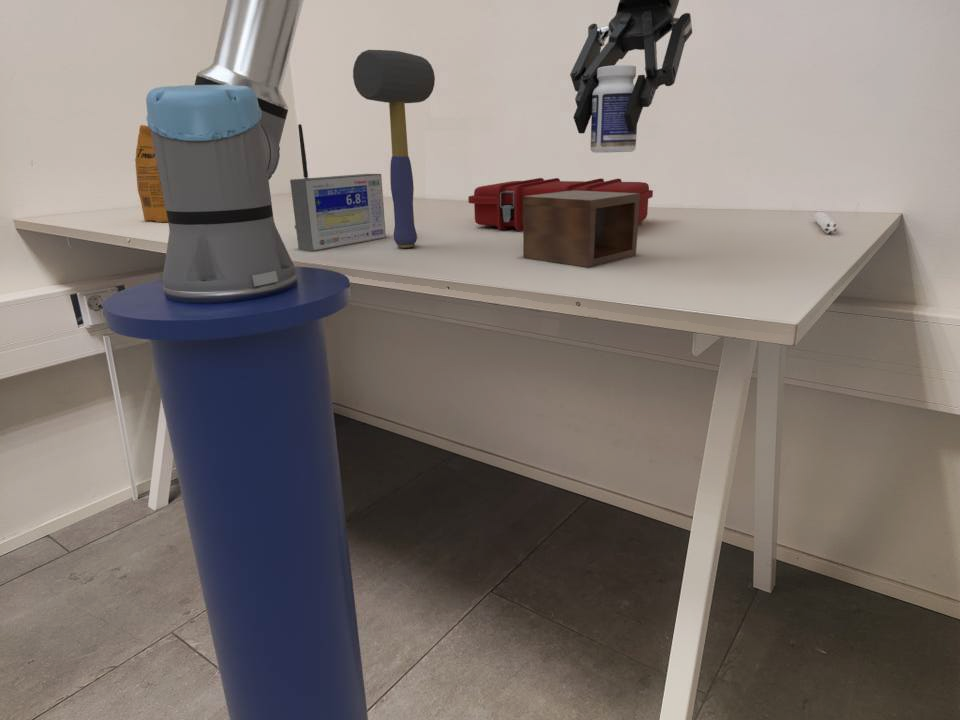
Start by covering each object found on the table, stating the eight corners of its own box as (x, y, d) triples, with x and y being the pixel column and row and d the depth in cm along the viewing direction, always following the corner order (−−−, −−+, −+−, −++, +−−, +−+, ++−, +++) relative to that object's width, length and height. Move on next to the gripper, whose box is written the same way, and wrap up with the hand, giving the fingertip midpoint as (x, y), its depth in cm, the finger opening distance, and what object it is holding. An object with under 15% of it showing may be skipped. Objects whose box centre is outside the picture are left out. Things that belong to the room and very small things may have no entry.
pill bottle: (644, 151, 79) (649, 66, 76) (618, 152, 76) (623, 63, 72) (607, 151, 83) (610, 70, 80) (581, 152, 80) (583, 67, 76)
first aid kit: (465, 229, 124) (463, 184, 121) (513, 216, 143) (513, 177, 140) (622, 237, 109) (625, 187, 107) (653, 221, 129) (656, 178, 126)
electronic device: (313, 251, 103) (298, 123, 96) (288, 248, 107) (272, 124, 100) (388, 237, 116) (379, 123, 109) (363, 235, 120) (353, 124, 113)
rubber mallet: (397, 255, 98) (383, 43, 88) (363, 251, 102) (346, 49, 92) (446, 243, 107) (437, 52, 97) (413, 240, 111) (401, 56, 101)
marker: (837, 236, 105) (840, 222, 104) (824, 235, 106) (826, 221, 105) (825, 222, 121) (827, 210, 120) (813, 222, 122) (815, 210, 121)
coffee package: (172, 216, 159) (155, 125, 152) (205, 218, 153) (189, 123, 146) (136, 221, 151) (117, 124, 143) (170, 223, 145) (151, 123, 138)
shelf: (523, 257, 93) (523, 196, 90) (572, 247, 101) (573, 190, 98) (588, 267, 85) (591, 200, 82) (636, 255, 93) (640, 193, 90)
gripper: (726, 11, 82) (685, 145, 74) (592, 27, 91) (543, 148, 83) (723, -44, 76) (677, 95, 68) (579, -22, 85) (525, 104, 77)
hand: (603, 124), depth 75 cm, fingers closed on pill bottle, 6 cm apart
